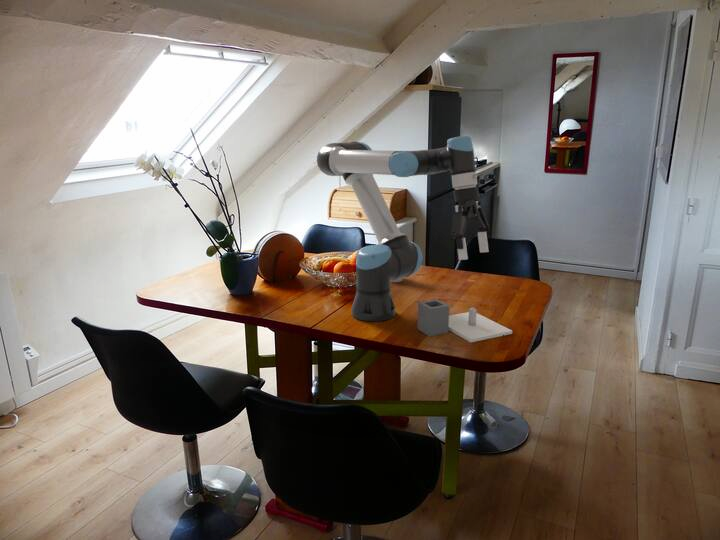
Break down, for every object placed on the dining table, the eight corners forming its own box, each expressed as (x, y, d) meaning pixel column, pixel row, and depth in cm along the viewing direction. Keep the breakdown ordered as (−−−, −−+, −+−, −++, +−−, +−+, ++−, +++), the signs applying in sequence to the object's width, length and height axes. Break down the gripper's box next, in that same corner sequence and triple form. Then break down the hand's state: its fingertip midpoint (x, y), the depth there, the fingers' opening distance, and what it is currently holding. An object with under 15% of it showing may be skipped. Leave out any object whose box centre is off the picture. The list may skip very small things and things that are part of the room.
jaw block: (429, 336, 170) (430, 309, 168) (417, 328, 176) (418, 302, 174) (448, 332, 173) (449, 305, 171) (435, 325, 179) (436, 299, 177)
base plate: (470, 342, 165) (471, 321, 164) (433, 321, 183) (434, 302, 181) (512, 333, 172) (513, 313, 170) (473, 313, 190) (474, 295, 188)
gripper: (455, 189, 157) (464, 262, 159) (495, 183, 176) (502, 248, 178) (433, 192, 162) (442, 263, 164) (474, 186, 180) (482, 250, 183)
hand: (474, 255), depth 171 cm, fingers open, 13 cm apart
